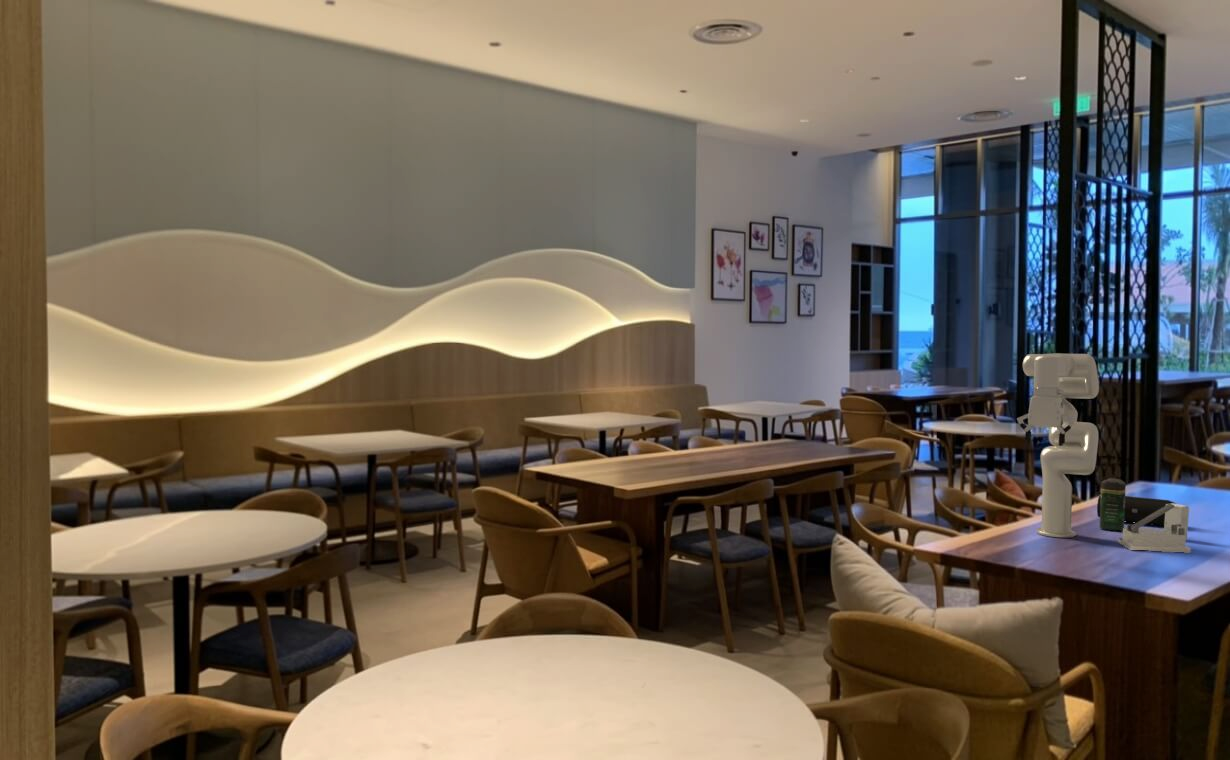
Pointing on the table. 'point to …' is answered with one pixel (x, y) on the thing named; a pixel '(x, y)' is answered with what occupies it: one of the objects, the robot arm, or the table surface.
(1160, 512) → the strap
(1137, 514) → the portable speaker
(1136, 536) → the block
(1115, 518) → the coffee jar
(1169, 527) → the skincare box
